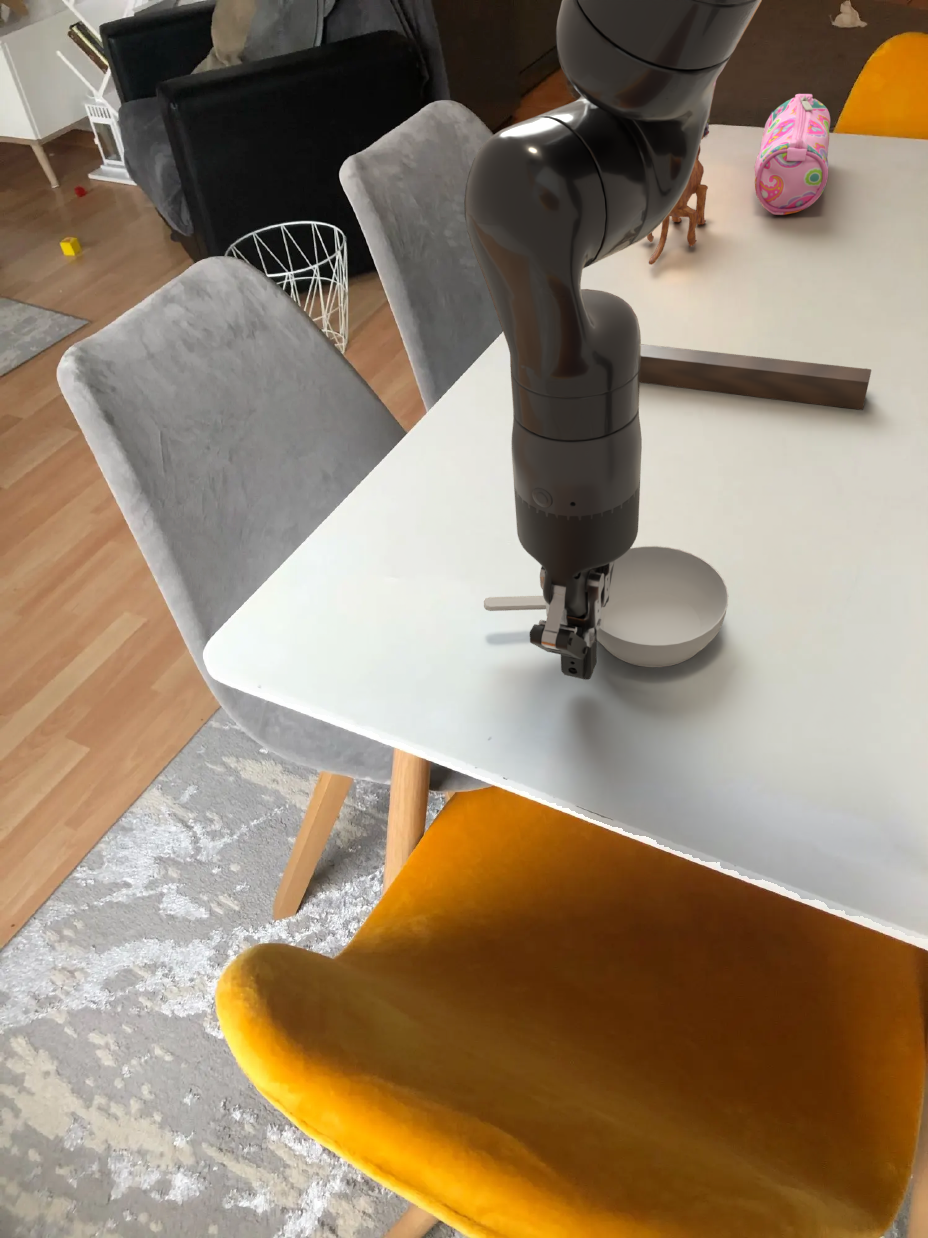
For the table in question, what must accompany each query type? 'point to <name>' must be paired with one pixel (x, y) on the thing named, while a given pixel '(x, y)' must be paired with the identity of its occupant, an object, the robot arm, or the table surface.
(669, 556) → the saucepan
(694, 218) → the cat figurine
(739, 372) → the walnut rail
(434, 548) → the table surface
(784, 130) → the pencil case
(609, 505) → the robot arm
